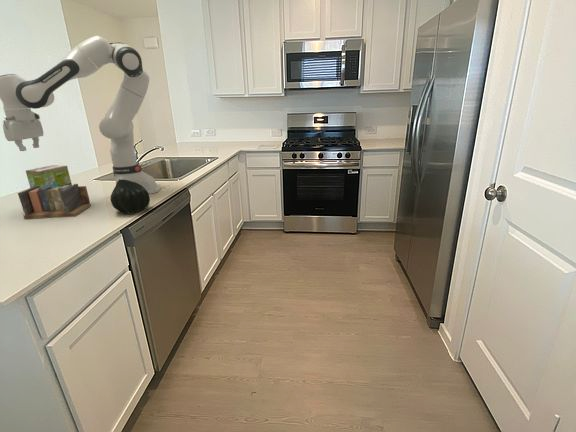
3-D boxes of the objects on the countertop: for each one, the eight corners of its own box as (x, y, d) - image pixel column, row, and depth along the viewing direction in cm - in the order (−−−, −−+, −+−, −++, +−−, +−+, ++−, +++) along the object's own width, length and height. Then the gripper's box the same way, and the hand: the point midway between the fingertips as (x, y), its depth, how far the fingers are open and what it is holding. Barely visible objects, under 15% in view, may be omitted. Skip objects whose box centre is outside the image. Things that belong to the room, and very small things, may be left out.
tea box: (49, 200, 156) (40, 170, 151) (33, 199, 158) (23, 170, 153) (74, 191, 170) (67, 164, 164) (59, 191, 172) (51, 164, 166)
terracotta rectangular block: (50, 207, 139) (44, 187, 136) (42, 211, 134) (36, 191, 131) (43, 207, 139) (37, 188, 136) (34, 212, 134) (28, 192, 130)
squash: (157, 199, 135) (141, 170, 137) (122, 209, 125) (105, 178, 126) (150, 214, 145) (134, 187, 147) (117, 225, 135) (101, 196, 136)
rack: (91, 205, 145) (84, 181, 141) (75, 216, 132) (68, 190, 128) (44, 208, 143) (37, 184, 139) (24, 219, 130) (15, 192, 126)
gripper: (11, 117, 123) (22, 152, 128) (41, 115, 142) (50, 145, 147) (-7, 117, 122) (5, 153, 127) (26, 115, 141) (36, 146, 146)
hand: (30, 149), depth 137 cm, fingers open, 8 cm apart
